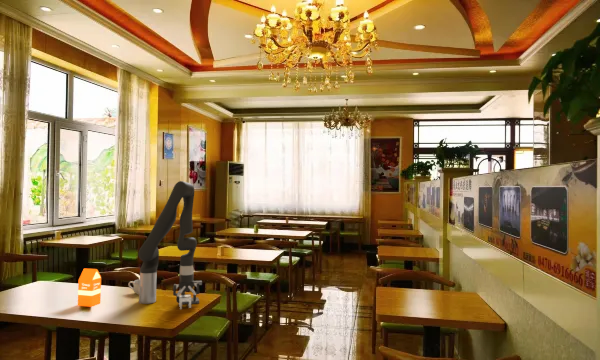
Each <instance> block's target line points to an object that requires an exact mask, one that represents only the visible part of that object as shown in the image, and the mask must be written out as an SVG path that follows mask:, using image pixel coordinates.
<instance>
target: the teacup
mask: <svg viewBox="0 0 600 360" xmlns="http://www.w3.org/2000/svg"><path fill="white" fill-rule="evenodd" d="M131 284H132V285H133V287H132V286H131ZM127 286H128V287H129V289H131V290H132V291H133V292H134V293H136V295H139V286H140V278H139V279H135V280H134V281H133V280H132V281H131V280H130V281H129V282H128V285H127Z"/></svg>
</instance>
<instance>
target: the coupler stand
mask: <svg viewBox="0 0 600 360" xmlns="http://www.w3.org/2000/svg"><path fill="white" fill-rule="evenodd" d="M193 282H194V283H197V282H198V283H199V286H202V285H203V281H202V280H193ZM184 294H186V292H183V291H182V293H181V294H180V295H184ZM195 304H196V305H197V304H200V299H199V297H197V296H196V301H195V302H193V297H191V305H195ZM182 305H188V302H182Z"/></svg>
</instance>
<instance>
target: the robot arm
mask: <svg viewBox="0 0 600 360" xmlns="http://www.w3.org/2000/svg"><path fill="white" fill-rule="evenodd" d="M194 199H195V187H194V185H193V184H192V183H190V182H188V181H183V180H181V181H180V180H179V181H178V182H176V183H175V184H174V187H173V188H172V190H171V193H170V196H169V197H168V200H167V201H166V204H165V205H164V207H163V209H162V211H161V212H160V214H159V216H158V217H157V220H156V221H155V224H154V225H153V227H152V229H151V230H150V233H149V235H148V236H147V238H146V240H145V241H144V243H142V245H141V247H140V248H139V249H138V250H139V251H138V258H139V260H140V261H142V264H141V267H140V268H139V279H140V286H139V294H138V304H143V305H144V304H146V305H147V304H154V303H155V302H157V280H158V279H157V273H158V272H157V271H158V267H159V261H160V259H159V258H160V251H159V248H158V246H159V245H160V242H162V240H163V239H164V237H166V235H167V234H169V232H170V230H172V227H173V226H174V224H175V222H176V219H177V215H178V214H177V212H178V206H179V204H180V202H181V200H183V207H182V211H181V213H180V217H179V236H178V240H177V244H176V247H177V249H178V250H179V251H188V252H187V253H185V254H182V255H180V258H179V259H180V261H179V262H180V265H179V283H178V284H176V283H174V284H173V288H172V289H173V290H172V291H173V292H172V294H173V297H175V298H176V303H177V304H179V295H181V293H182V291H183V292H185V293H186V292H192V298H193V302H195V301H196V298H197V295H199V294H200V285H199V283H198V282H197V283H194V282H193V281H194V255H195V252H196V248H197V244H198V242H197V239H196V238H195V237H185V236H186V235H189V234H192V233H193V232H194V229H193V210H194ZM194 286H195V287H196V291H195V290H194V289H193V288H194ZM178 288H179V290H178V292H177V289H178Z"/></svg>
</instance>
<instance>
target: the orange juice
mask: <svg viewBox="0 0 600 360" xmlns="http://www.w3.org/2000/svg"><path fill="white" fill-rule="evenodd" d="M77 283H78V285H77V286H78V287H77V288H78V289H77V306H78V307H79V306H80V307H90V308H91V307H96V306H98V305H100V304H101V296H102V295H101V293H102V275H101V274H100V272H99V270H98V269H97V268H83V270H82V272H81V274H80V276H79V278H78V282H77Z"/></svg>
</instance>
